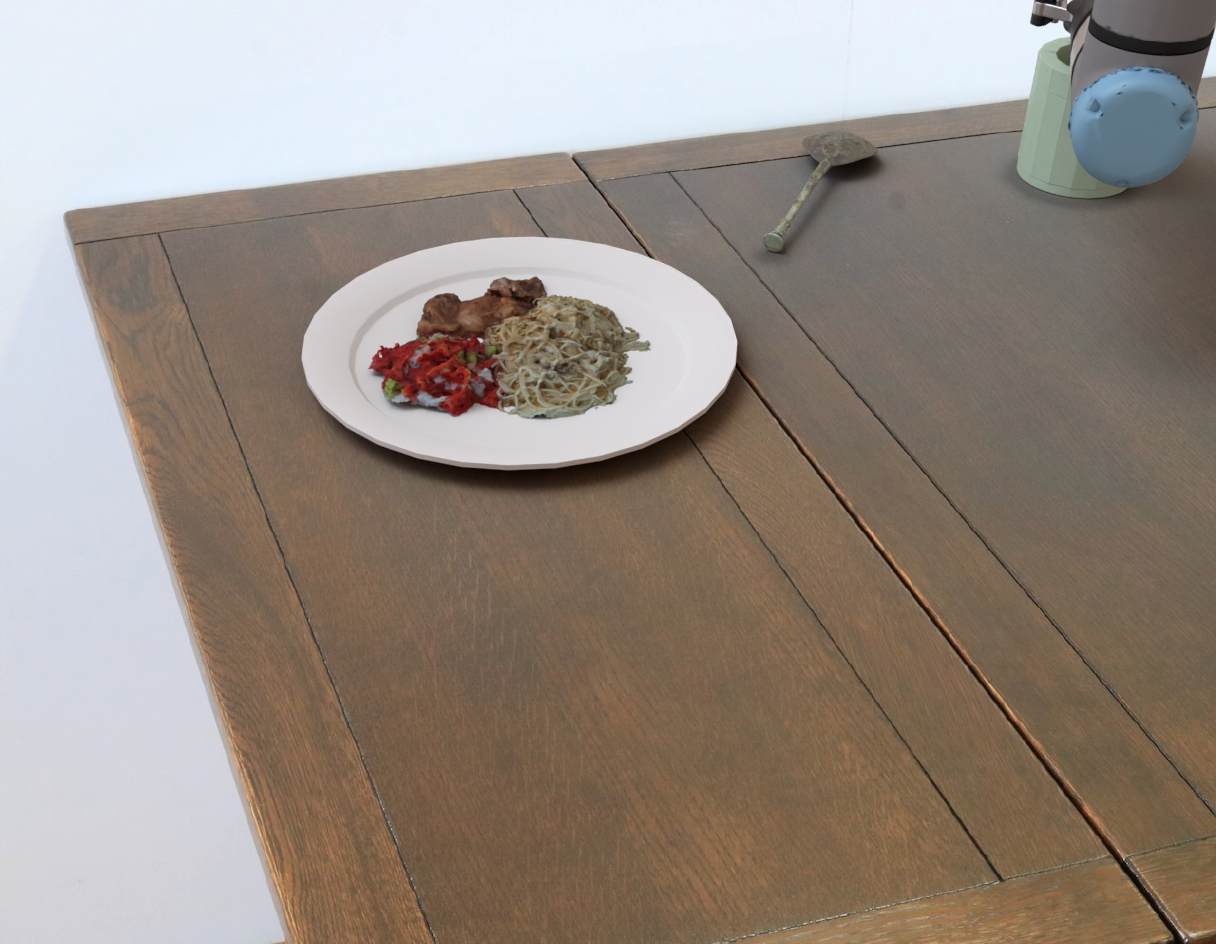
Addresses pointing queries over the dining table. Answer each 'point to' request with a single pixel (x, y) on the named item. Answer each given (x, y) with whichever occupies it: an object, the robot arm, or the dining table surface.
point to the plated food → (519, 353)
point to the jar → (1054, 131)
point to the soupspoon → (821, 171)
